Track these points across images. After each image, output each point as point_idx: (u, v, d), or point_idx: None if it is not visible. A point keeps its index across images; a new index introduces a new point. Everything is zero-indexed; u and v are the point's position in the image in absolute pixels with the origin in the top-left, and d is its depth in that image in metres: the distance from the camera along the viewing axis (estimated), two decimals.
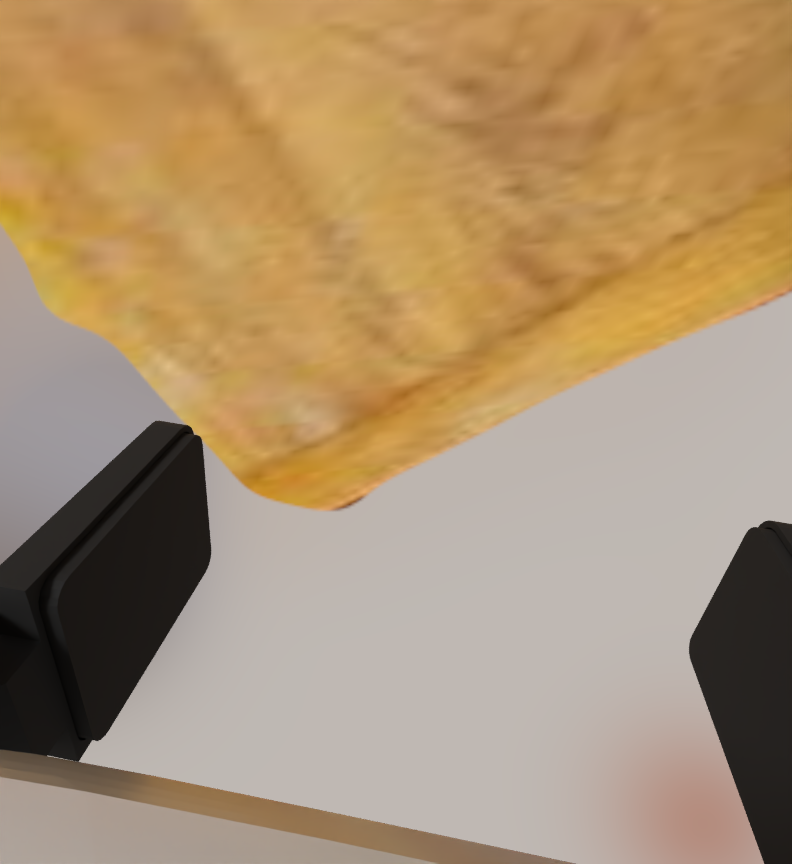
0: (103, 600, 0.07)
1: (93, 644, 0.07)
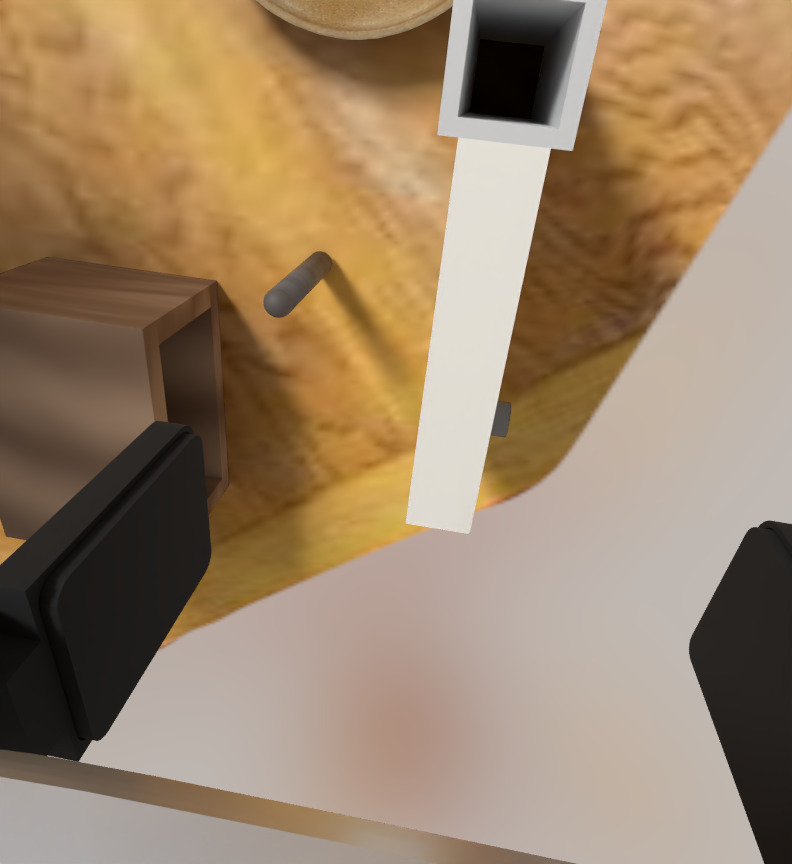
0: (103, 600, 0.07)
1: (93, 644, 0.07)
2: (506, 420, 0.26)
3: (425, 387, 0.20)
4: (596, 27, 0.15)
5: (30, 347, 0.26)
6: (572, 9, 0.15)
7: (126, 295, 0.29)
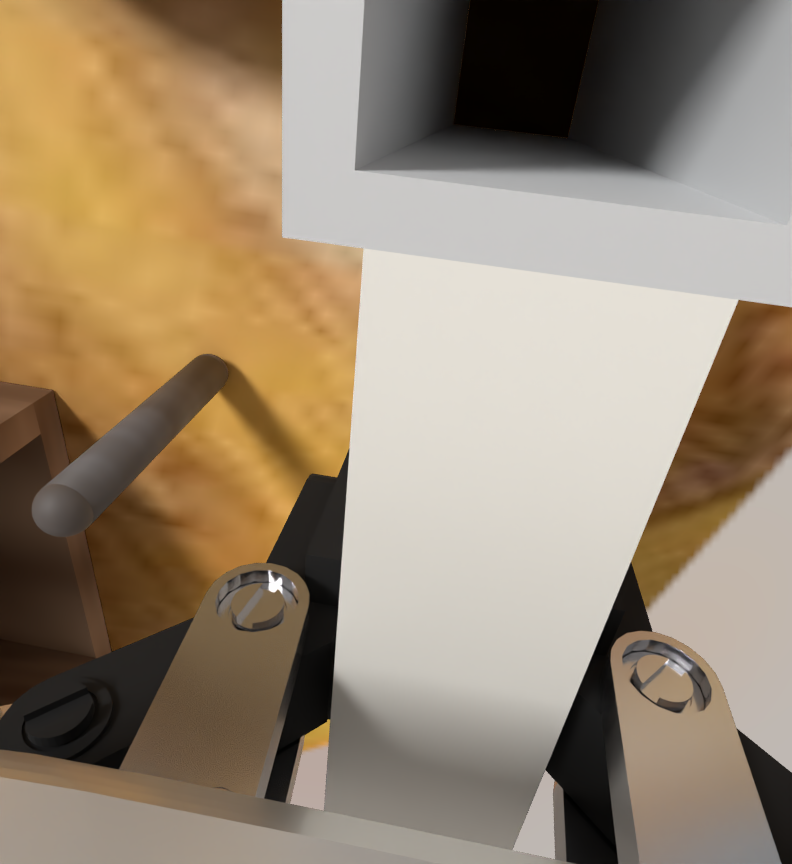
0: None
1: None
2: None
3: None
4: None
5: None
6: None
7: None
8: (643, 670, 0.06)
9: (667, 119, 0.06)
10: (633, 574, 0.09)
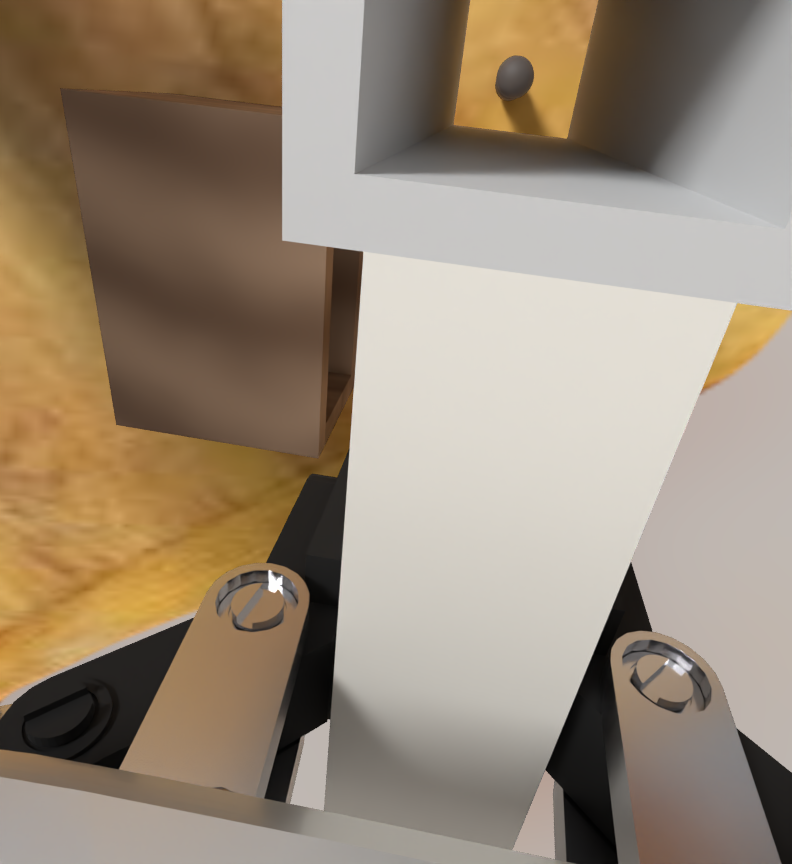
0: None
1: None
2: None
3: None
4: None
5: (180, 156, 0.21)
6: None
7: None
8: (643, 670, 0.06)
9: (666, 121, 0.06)
10: (633, 574, 0.09)
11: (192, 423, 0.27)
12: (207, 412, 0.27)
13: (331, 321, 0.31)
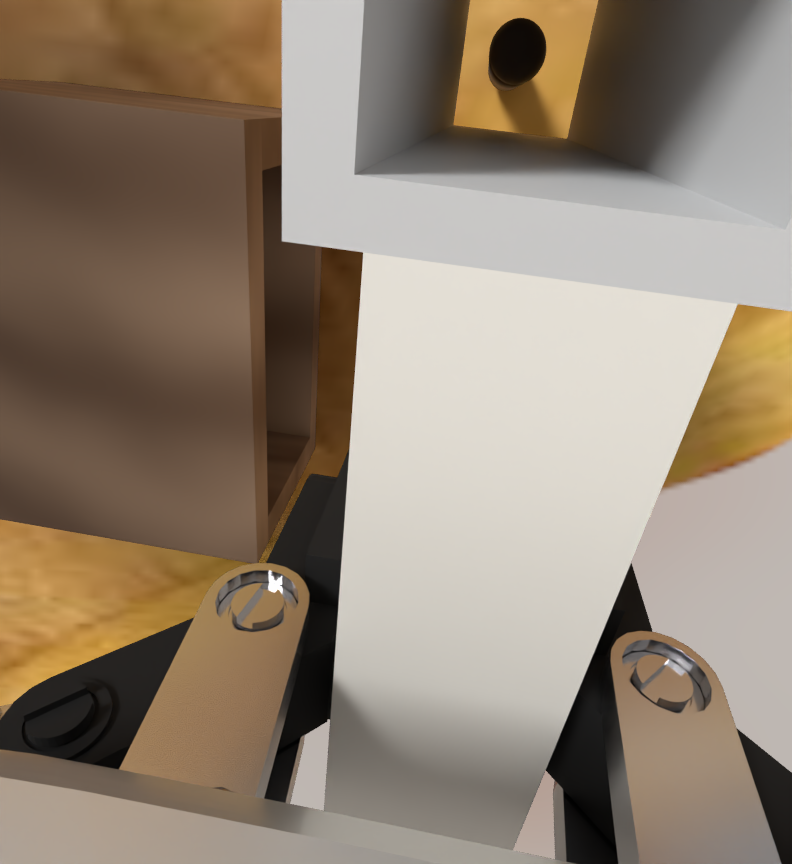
0: None
1: None
2: None
3: None
4: None
5: (32, 170, 0.15)
6: None
7: (195, 104, 0.17)
8: (643, 670, 0.06)
9: (666, 121, 0.06)
10: (633, 574, 0.09)
11: (91, 519, 0.20)
12: (108, 506, 0.20)
13: (282, 372, 0.24)
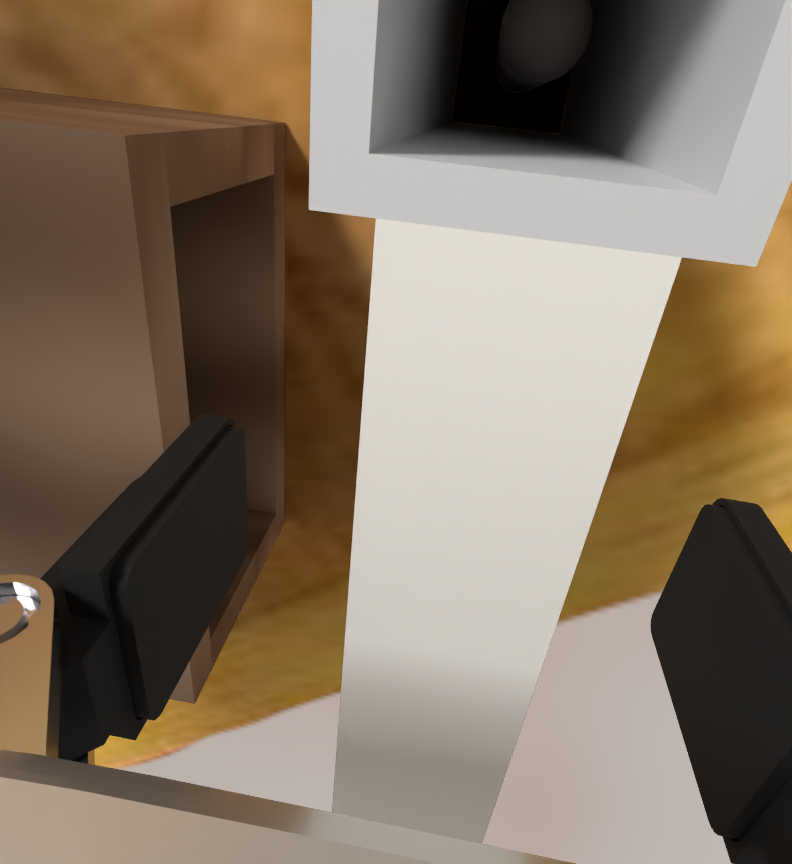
0: (162, 584, 0.08)
1: (153, 626, 0.08)
2: None
3: (339, 746, 0.09)
4: None
5: None
6: None
7: (93, 111, 0.12)
8: None
9: (638, 113, 0.07)
10: None
11: None
12: None
13: None
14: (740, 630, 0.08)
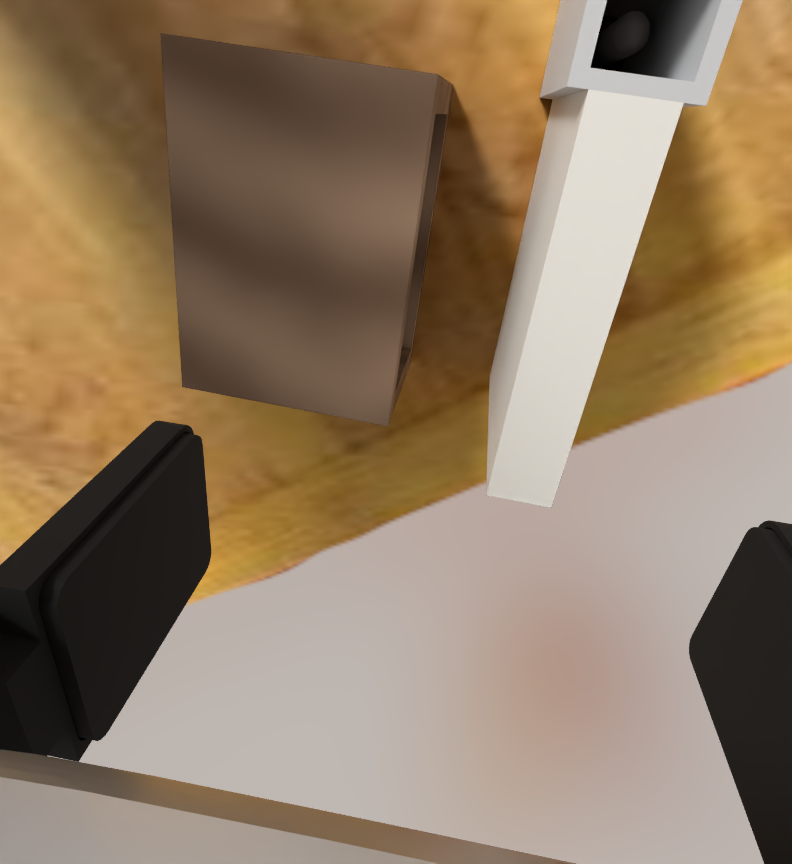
0: (103, 600, 0.07)
1: (93, 644, 0.07)
2: None
3: (523, 352, 0.20)
4: None
5: (278, 107, 0.21)
6: None
7: None
8: None
9: (668, 67, 0.18)
10: None
11: (261, 387, 0.27)
12: (278, 375, 0.26)
13: None
14: None
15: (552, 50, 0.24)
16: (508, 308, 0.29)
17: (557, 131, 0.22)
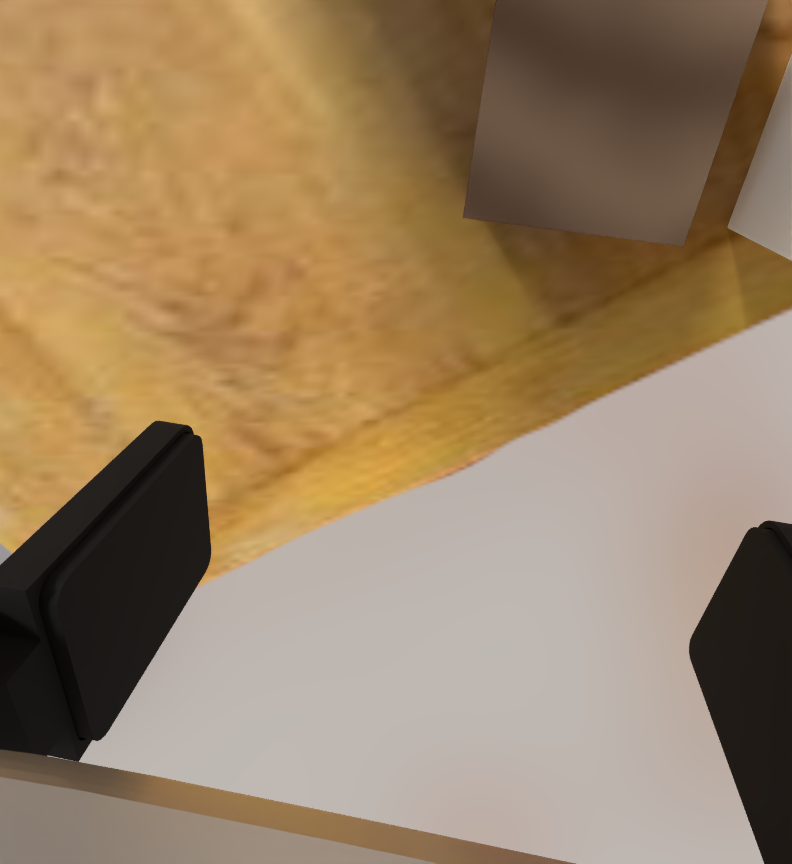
0: (103, 600, 0.07)
1: (93, 644, 0.07)
2: None
3: None
4: None
5: None
6: None
7: None
8: None
9: None
10: None
11: (551, 211, 0.26)
12: (573, 195, 0.25)
13: None
14: None
15: None
16: (780, 135, 0.28)
17: None
